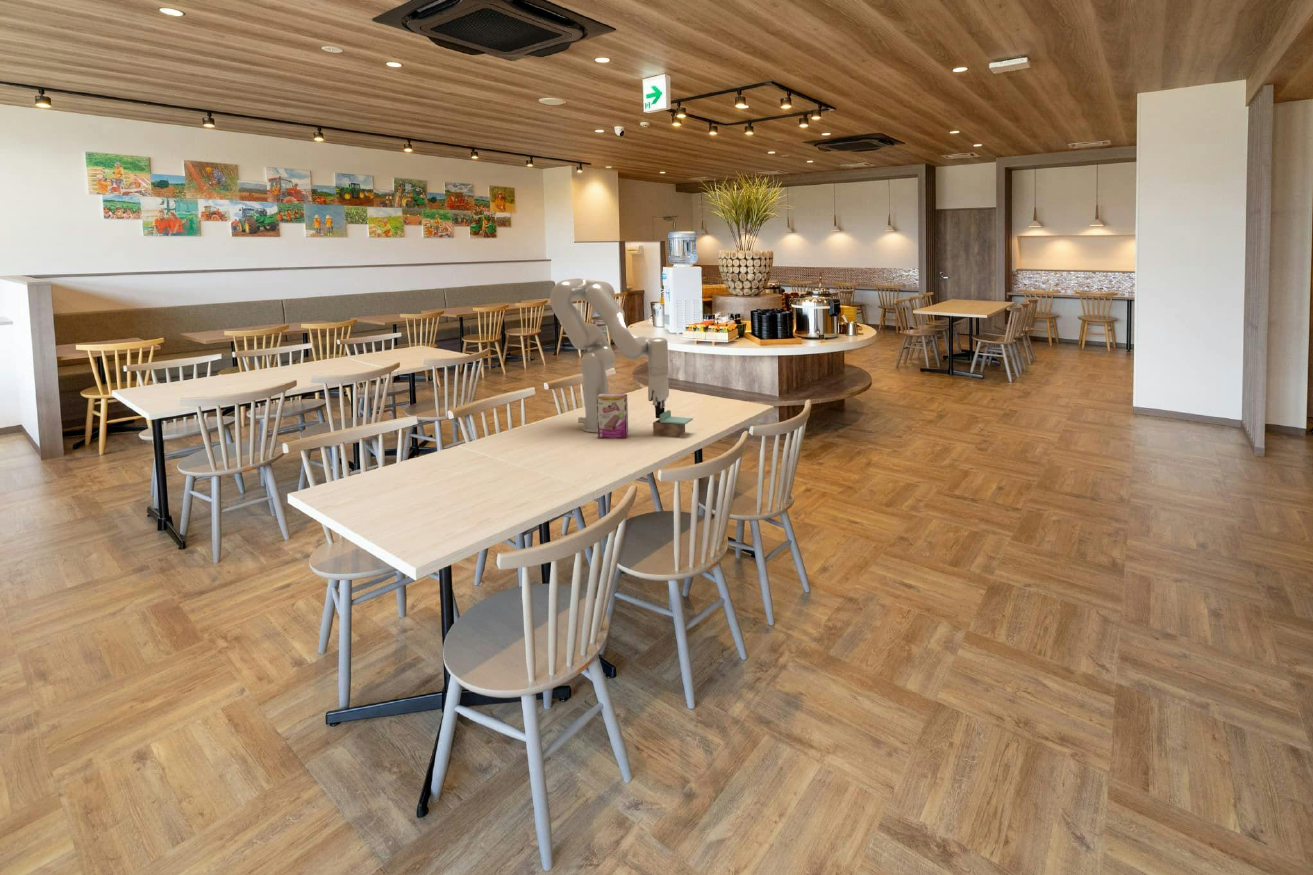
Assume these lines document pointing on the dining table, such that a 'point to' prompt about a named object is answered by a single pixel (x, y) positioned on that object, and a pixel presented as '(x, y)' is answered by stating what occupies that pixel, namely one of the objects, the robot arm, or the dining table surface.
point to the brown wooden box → (668, 429)
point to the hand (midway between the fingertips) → (660, 417)
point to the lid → (673, 418)
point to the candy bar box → (612, 415)
